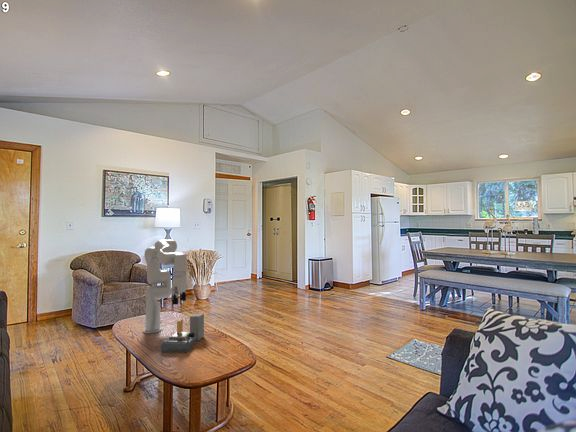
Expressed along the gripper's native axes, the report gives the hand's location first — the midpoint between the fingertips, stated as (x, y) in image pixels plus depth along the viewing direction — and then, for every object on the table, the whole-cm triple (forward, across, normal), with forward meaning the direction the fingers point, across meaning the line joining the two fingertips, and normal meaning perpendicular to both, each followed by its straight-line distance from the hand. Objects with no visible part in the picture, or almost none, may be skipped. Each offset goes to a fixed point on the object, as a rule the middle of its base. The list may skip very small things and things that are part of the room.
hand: (179, 302), depth 184 cm
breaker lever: (+21, -6, -2) cm, 22 cm away
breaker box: (+29, -6, -2) cm, 30 cm away
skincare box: (+29, -21, +2) cm, 36 cm away
